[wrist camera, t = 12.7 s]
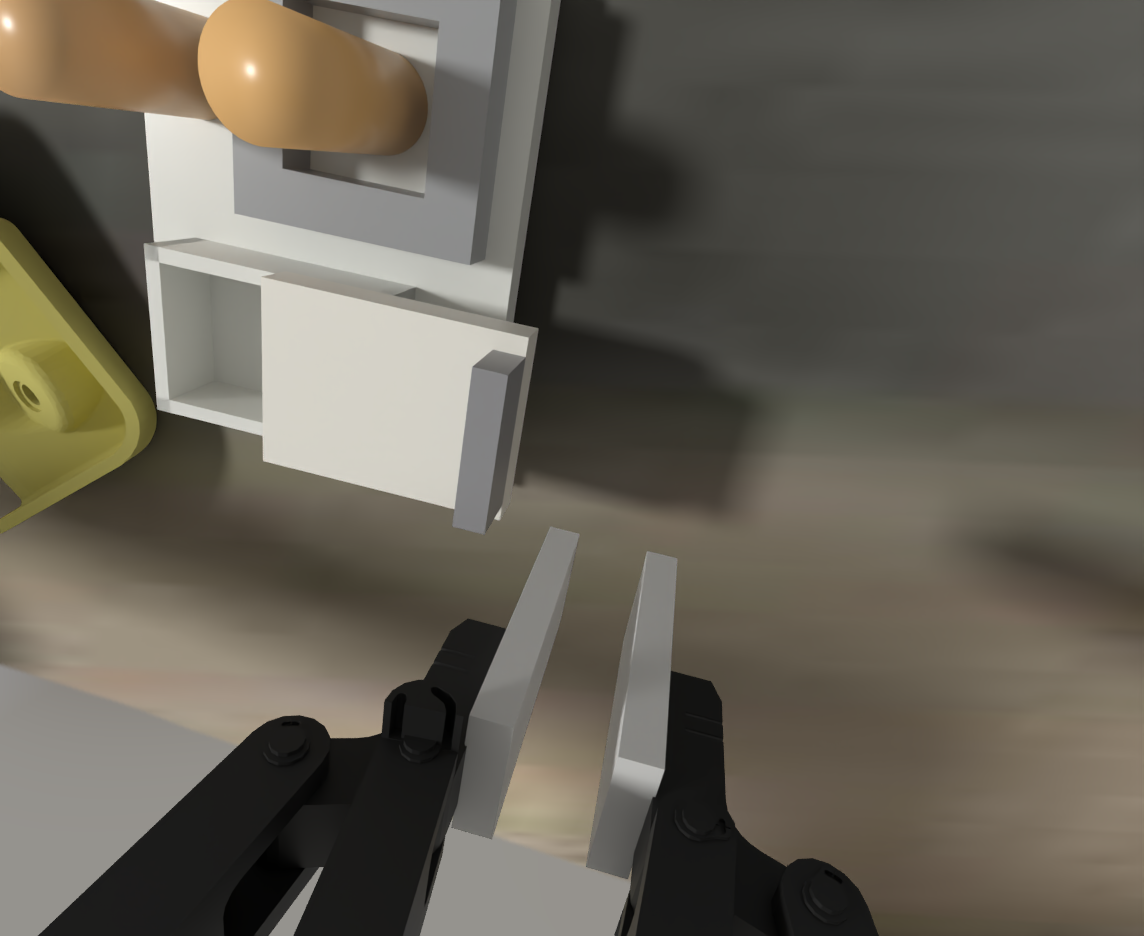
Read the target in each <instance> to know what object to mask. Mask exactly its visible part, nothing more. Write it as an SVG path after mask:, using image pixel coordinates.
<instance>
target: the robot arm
mask: <svg viewBox="0 0 1144 936" xmlns="http://www.w3.org/2000/svg"><path fill="white" fill-rule="evenodd" d="M579 535H580V534H578V533H574V532H570V531H566V530H562V529H558V528H554V527H550V528H549V531H548V533H547V535H546V538H545V540H544V542H543V545H542V547H541V549H540V552H539V554H538V556H537V559H536V561H535V563H534V566H533V568H532V570H531V573H530V575H529V577H528V580H527V582H526V584H525V587H524V589H523V591H522V594H521V596H520V598H519V601H518V603H517V605H516V608H515V610H514V612H513V615H512V617H511V619H510V622H509V624H508V626H507V629H505V628H501V627H498V626H494V625H490V624H486V623H482V622H479V621H475V620H471V619H467V620H465V621H464V622H463V623H461V624H460V625H458V626H457V627H455V628H454V629H453V630H451V631H450V633H449V635H448V637H447V639H446V640H445V642H444V644H443V646H442V648H441V651H439V653H438V655H437V657H436V659H435V660H434V664H432V666H431V668H430V670H429V671H428V673H427V675H426V677H425V679H424V680H416V681H412V682H407V683H404V684H403V685H401V686H399V687H397V688H396V689H394V690H392V692H391V693H390V694H389V696H388V697H387V698H386V699H385V702H384V713H383V725H382V733H381V734H377V735H374V736H370V737H364V738H330V736H329V734H328V732H327V730H326V728H325V726H323V725H322V724H321V723H319V722H318V721H316V720H315V719H312V718H308V717H304V716H300V715H298V716H283V717H280V718H277V719H274V720H271V721H268V722H266V723H265V724H263V725H262V726H260V727H259V728H258V729H256V730H255V731H253V732H252V733H251V734H250V735H249V736H248V737H247V738H246V739H245V740H244V741H243V742H242V743H241V744H240V745H239V746H237V747H236V748H235V749H234V750H233V751H232V752H231V753H230V754H229V755H228V756H227V757H226V758H225V759H224V760H223V761H222V762H221V763H220V764H218V765H217V766H216V767H215V768H214V769H213V770H212V771H211V772H210V773H209V774H208V775H207V776H206V777H205V778H204V779H203V780H202V781H201V782H200V783H199V784H197V785H196V786H195V787H194V788H193V789H192V790H191V791H190V792H189V793H188V794H187V795H186V796H185V797H184V798H183V799H182V800H181V801H179V802H178V803H177V804H176V805H175V806H174V807H173V808H172V809H171V810H170V811H169V812H168V813H167V814H166V815H165V816H164V817H163V818H162V819H161V820H159V821H158V822H157V823H156V824H155V825H154V826H153V827H152V828H151V829H150V830H149V831H148V832H147V833H146V834H145V835H144V836H143V837H142V838H140V839H139V840H138V841H137V842H136V843H135V844H134V845H133V846H132V847H131V848H130V849H129V850H128V851H127V852H126V853H125V854H124V855H123V856H121V858H119V859H118V860H117V861H116V862H115V863H114V864H113V865H112V866H111V867H110V868H109V869H108V870H107V871H106V872H105V873H104V874H103V875H101V877H99V879H97V880H96V881H95V882H94V883H93V884H92V885H91V886H90V887H89V888H88V889H87V890H86V891H85V892H84V893H83V894H81V895H80V896H79V898H77V899H76V900H75V901H74V902H73V903H72V904H71V905H70V906H69V907H68V908H67V909H66V910H65V911H64V912H62V914H60V915H59V916H58V917H57V918H56V919H55V920H54V921H53V922H52V923H51V924H50V925H49V926H48V927H47V928H46V929H45V930H44V931H43V932H42V933H40V934H39V935H38V936H269V934H270V933H271V932H272V930H273V929H274V928H275V926H276V925H277V923H278V922H279V921H280V919H281V918H282V917H283V915H284V914H285V913H286V911H287V910H288V909H289V907H290V906H291V905H292V903H293V902H294V900H295V899H296V898H297V897H298V895H299V894H300V892H301V891H302V890H303V888H304V887H305V886H306V884H307V883H308V882H309V880H310V879H311V878H312V876H313V875H314V873H315V872H316V871H317V870H318V868H319V867H324V868H323V870H322V872H321V875H320V877H319V879H318V882H317V884H316V886H315V888H314V891H313V893H312V895H311V898H310V900H309V902H308V904H307V906H306V909H305V911H304V913H303V915H302V918H301V920H300V922H299V924H298V927H297V929H296V931H295V934H294V936H420V933H421V929H422V925H423V922H424V918H425V915H426V911H427V907H428V904H429V900H430V897H431V893H432V890H433V886H434V883H435V879H436V875H437V872H438V868H439V864H440V861H441V857H442V853H443V846H444V840H445V835H446V833H447V830H448V827H449V825H450V822H451V820H452V817H453V821H452V828H455V829H458V830H462V831H465V832H469V833H472V834H475V835H479V836H482V837H486V838H489V839H492V837H493V834H494V831H495V828H496V825H497V822H498V818H499V815H500V812H501V809H502V806H503V802H504V799H505V796H506V793H507V790H508V787H509V783H510V780H511V777H512V774H513V771H514V768H515V764H516V761H517V758H518V755H519V752H520V748H521V745H522V742H523V739H524V736H525V733H526V729H527V726H528V723H529V720H530V717H531V714H532V710H533V707H534V704H535V701H536V698H537V694H538V691H539V688H540V685H541V682H542V679H543V675H544V672H545V669H546V666H547V663H548V660H549V656H550V653H551V650H552V647H553V644H554V640H555V637H556V634H557V631H558V628H559V625H560V621H561V617H562V613H563V608H564V603H565V599H566V594H567V590H568V585H569V580H570V576H571V571H572V567H573V562H574V558H575V553H576V548H577V544H578V539H579ZM676 573H677V558H674V557H670V556H666V555H662V554H658V553H654V552H650V551H647V554H646V558H645V561H644V565H643V569H642V573H641V576H640V580H639V584H638V587H637V591H636V595H635V598H634V602H633V606H632V609H631V613H630V617H629V621H628V624H627V628H626V632H625V635H624V640H623V646H622V652H621V658H620V664H619V670H618V676H617V682H616V688H615V694H614V700H613V706H612V712H611V718H610V724H609V730H608V736H607V742H606V749H605V755H604V761H603V767H602V773H601V779H600V785H599V791H598V797H597V803H596V809H595V815H594V821H593V827H592V833H591V839H590V845H589V851H588V857H587V863H586V867H588V868H591V869H595V870H598V871H602V872H605V873H608V874H612V875H615V876H619V877H622V878H625V879H628V877H629V874H630V871H631V868H632V876H631V886H630V891H629V894H628V897H627V900H626V903H625V906H624V909H623V911H622V914H621V917H620V920H619V923H618V926H617V929H616V932H615V936H879V935H878V933H877V930H876V927H875V925H874V922H873V919H872V917H871V914H870V911H869V908H868V906H867V904H866V902H865V900H864V898H863V897H862V895H861V893H860V891H859V889H858V888H857V887H856V886H855V885H854V884H853V883H852V882H851V880H850V879H849V878H848V877H847V876H846V875H845V874H844V873H842V872H841V871H839V870H838V869H836V868H835V867H833V866H832V865H830V864H828V863H825V862H822V861H819V860H816V859H813V858H810V859H797V860H796V861H794V862H793V863H791V864H789V865H788V866H787V867H786V866H784V865H783V864H781V863H779V862H778V861H776V860H774V859H773V858H771V857H769V856H768V855H766V854H764V853H763V852H761V851H760V850H758V849H757V848H755V847H754V846H753V845H751V844H750V843H749V842H748V841H747V840H746V839H745V838H744V837H743V836H742V835H741V834H740V833H739V831H738V830H737V829H736V827H735V823H734V821H733V819H732V818H731V816H730V814H729V812H728V811H727V805H726V795H725V770H724V746H723V725H722V701H721V699H720V697H719V696H718V694H717V692H716V690H715V688H714V686H713V684H712V682H711V681H707V680H703V679H700V678H696V677H692V676H688V675H685V674H681V673H677V672H673V671H671V657H672V640H673V624H674V607H675V590H676ZM632 865H633V866H632Z"/></svg>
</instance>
